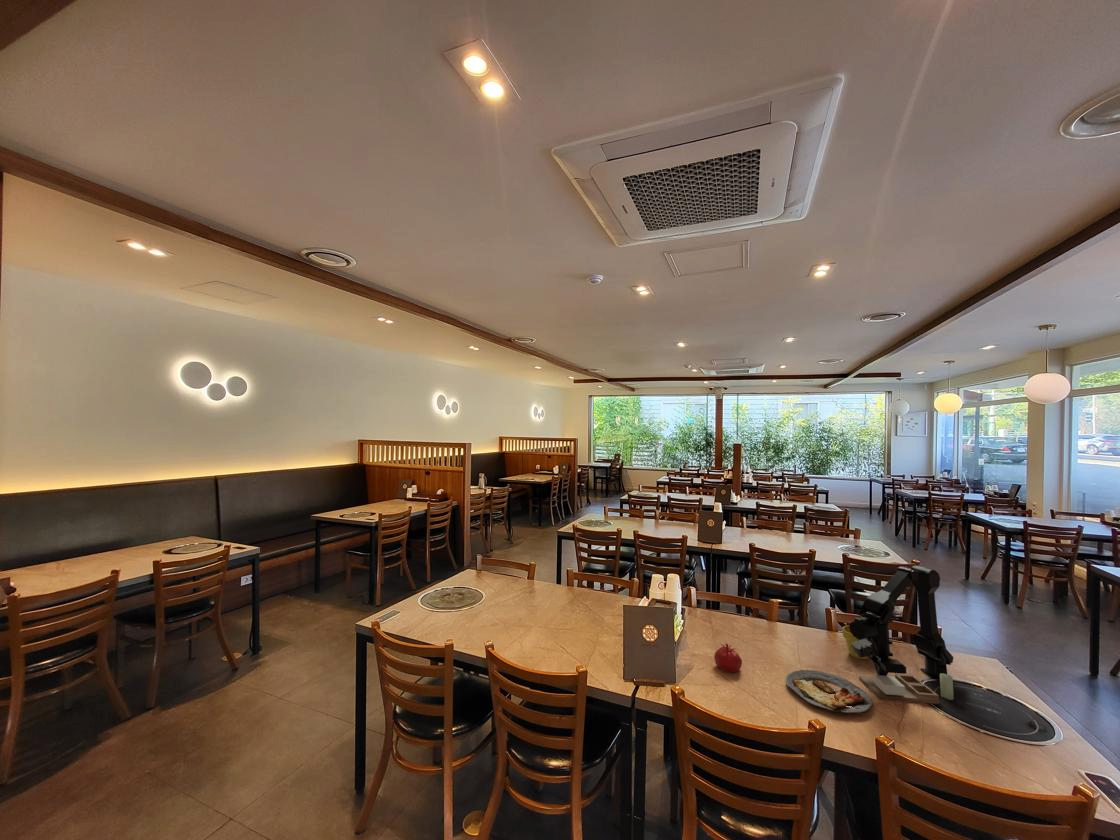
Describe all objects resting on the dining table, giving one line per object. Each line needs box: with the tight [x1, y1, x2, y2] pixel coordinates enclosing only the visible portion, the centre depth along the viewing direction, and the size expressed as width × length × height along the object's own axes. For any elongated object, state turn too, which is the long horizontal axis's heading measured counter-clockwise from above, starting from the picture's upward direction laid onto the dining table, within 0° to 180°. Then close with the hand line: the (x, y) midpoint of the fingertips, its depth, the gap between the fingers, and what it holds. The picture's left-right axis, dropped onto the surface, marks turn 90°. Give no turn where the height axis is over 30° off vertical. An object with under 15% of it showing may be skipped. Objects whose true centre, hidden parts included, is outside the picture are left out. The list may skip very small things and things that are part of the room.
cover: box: [873, 674, 905, 696], centre depth 142 cm, size 6×6×3 cm
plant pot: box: [842, 624, 869, 660], centre depth 169 cm, size 10×10×10 cm
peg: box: [939, 673, 955, 701], centre depth 141 cm, size 3×3×7 cm
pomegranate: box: [713, 642, 743, 673], centre depth 160 cm, size 10×10×9 cm
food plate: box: [785, 669, 874, 715], centre depth 143 cm, size 25×23×4 cm
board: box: [858, 673, 940, 705], centre depth 144 cm, size 12×18×3 cm, turn 81°
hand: (881, 679), depth 147 cm, fingers closed
